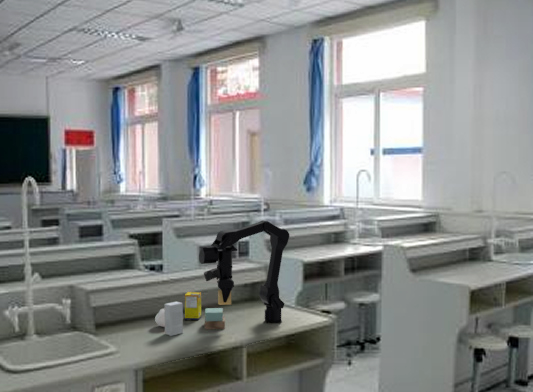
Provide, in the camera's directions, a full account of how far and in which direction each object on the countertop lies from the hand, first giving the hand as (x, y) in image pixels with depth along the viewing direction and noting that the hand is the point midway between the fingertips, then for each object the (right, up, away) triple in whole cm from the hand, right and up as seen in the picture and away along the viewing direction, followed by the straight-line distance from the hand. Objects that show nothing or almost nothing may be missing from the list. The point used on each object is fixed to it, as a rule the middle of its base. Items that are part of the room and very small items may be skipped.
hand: (224, 300), depth 238 cm
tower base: (-4, -12, +3) cm, 13 cm away
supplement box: (-15, -11, +15) cm, 24 cm away
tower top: (-4, -8, +3) cm, 10 cm away
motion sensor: (-24, -11, +2) cm, 27 cm away
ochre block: (0, -1, 0) cm, 1 cm away
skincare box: (-19, -12, -7) cm, 24 cm away
